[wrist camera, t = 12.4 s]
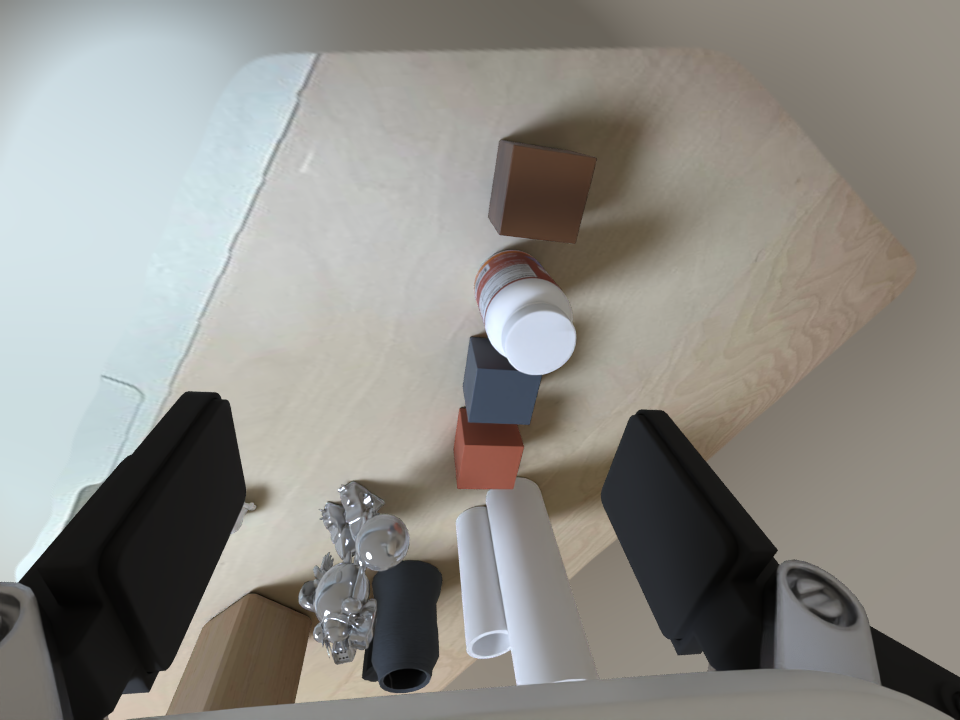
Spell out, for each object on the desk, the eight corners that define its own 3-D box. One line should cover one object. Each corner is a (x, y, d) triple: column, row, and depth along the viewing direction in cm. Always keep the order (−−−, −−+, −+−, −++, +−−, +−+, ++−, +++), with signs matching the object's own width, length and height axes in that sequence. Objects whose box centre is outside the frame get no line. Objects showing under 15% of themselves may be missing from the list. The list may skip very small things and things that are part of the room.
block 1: (470, 336, 38) (477, 368, 34) (528, 340, 39) (543, 372, 34) (462, 387, 41) (468, 422, 36) (517, 389, 42) (529, 425, 37)
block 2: (459, 407, 42) (464, 444, 37) (512, 410, 43) (524, 446, 38) (453, 449, 45) (457, 489, 40) (503, 450, 46) (513, 489, 41)
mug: (400, 551, 52) (396, 651, 43) (456, 575, 56) (464, 671, 46) (345, 600, 56) (329, 702, 46) (401, 619, 60) (397, 717, 50)
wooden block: (267, 647, 59) (205, 866, 42) (201, 623, 54) (101, 857, 37) (316, 616, 57) (271, 833, 40) (251, 587, 52) (169, 819, 35)
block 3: (499, 139, 30) (513, 144, 26) (571, 151, 31) (597, 157, 27) (487, 217, 33) (498, 235, 28) (554, 226, 34) (575, 244, 29)
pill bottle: (549, 304, 38) (595, 369, 28) (483, 325, 38) (506, 397, 28) (535, 237, 34) (581, 286, 25) (463, 260, 35) (482, 317, 25)
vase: (510, 468, 47) (562, 671, 30) (554, 493, 50) (623, 690, 33) (447, 525, 51) (461, 736, 34) (491, 546, 54) (525, 748, 37)
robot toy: (377, 442, 43) (359, 583, 30) (425, 467, 46) (428, 606, 33) (303, 525, 48) (260, 677, 35) (350, 543, 50) (327, 691, 37)
